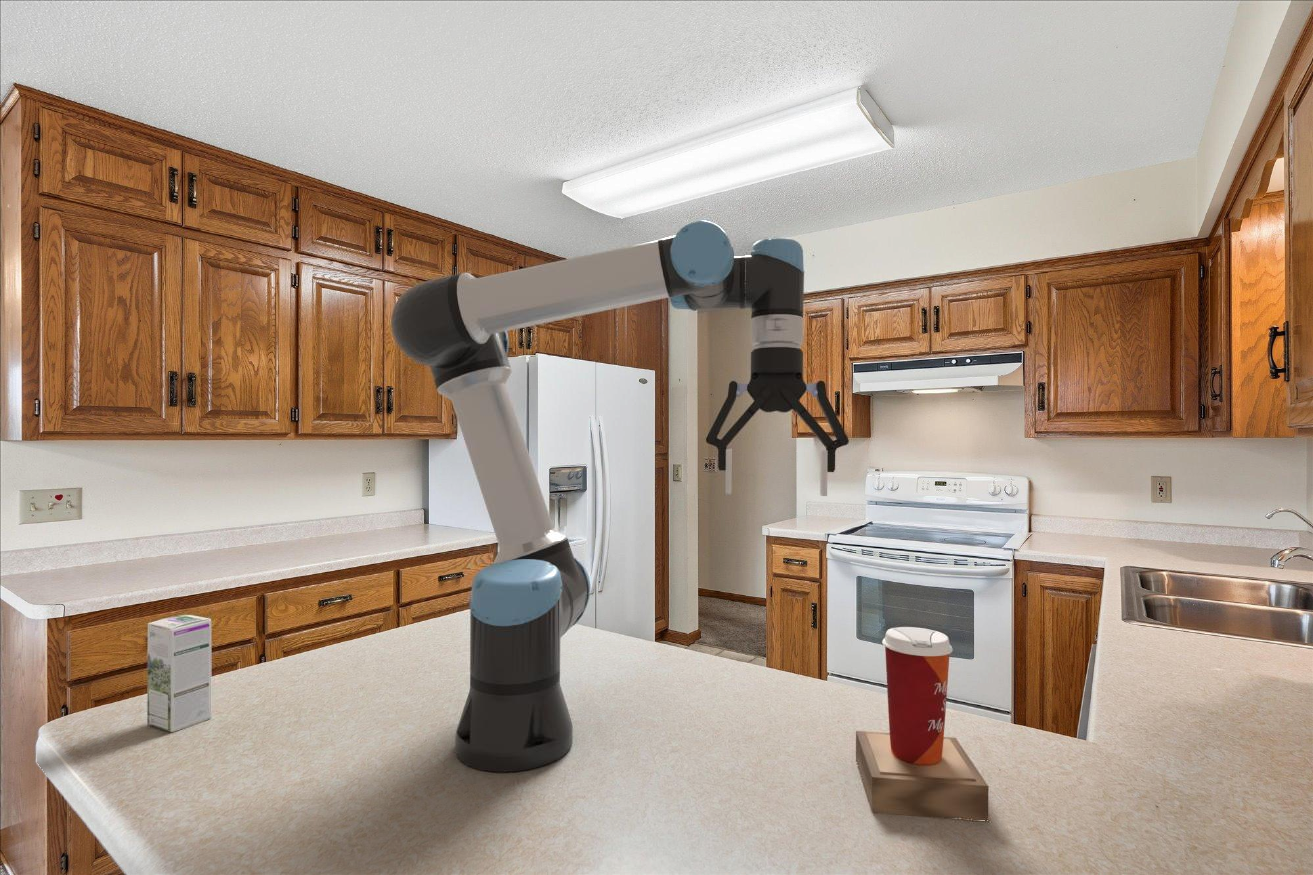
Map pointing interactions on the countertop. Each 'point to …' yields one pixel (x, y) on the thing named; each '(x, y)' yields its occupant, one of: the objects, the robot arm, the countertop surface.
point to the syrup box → (179, 672)
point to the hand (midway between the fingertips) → (775, 494)
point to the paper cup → (917, 692)
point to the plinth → (920, 781)
